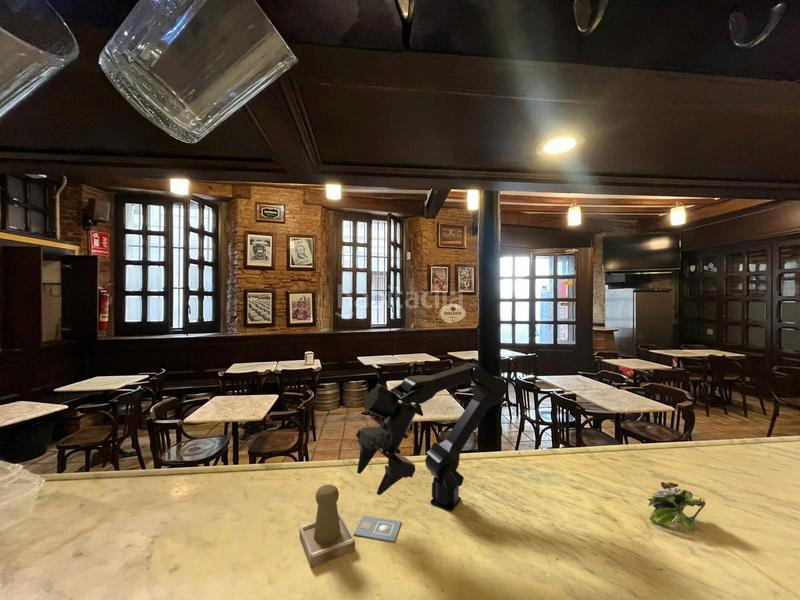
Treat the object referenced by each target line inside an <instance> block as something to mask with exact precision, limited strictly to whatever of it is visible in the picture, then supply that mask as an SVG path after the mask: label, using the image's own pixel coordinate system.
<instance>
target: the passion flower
mask: <svg viewBox="0 0 800 600" xmlns="http://www.w3.org/2000/svg"><path fill="white" fill-rule="evenodd" d="M660 487H661V488H663V489H664V490H662V489H660V491H659V490H656V492H653V493H652V496H651V498H650V497H646V500H647V501H649V502H648V505H647V506H648V507H650V506H652V507H653V508H654V509H653V511H652V512H651V514H650V516H649V521H650V520H651V521H652V522H653V524H661V525H662V526H671V525H673V524H675V523H677V522H679V521H681V523H682V524H683V525H684V527H686V528H687V529H688V533H689V532H690V533H691V532H692V533H695V532H696V531H695V529H694V526H693V524H694V522H695V520H696V517H697V516H698V515H699V513H700V512H701V510H702V509H704V507H706V506H705V505H706V502H705V499H704V498H701V497H698V498H693V496H694V495H693V493H692V492H691V491H688V490H687V489H685V488H684V489H680V488H678V489H677V488H676V487H679V484H678V483H674V482H672V481H668V482H664V481H662V482H660ZM672 488H673V489H674V490H673V489H672ZM687 506H689V507H695V506H697V507H699V508H698V510H697V511H696V512H695V513H694V515H692V516H691V517H689V516H687V515H686V514H685V513H684V512H683V511H684V509H685V508H686V507H687ZM651 521H650V522H651Z"/></svg>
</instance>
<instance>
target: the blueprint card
mask: <svg viewBox="0 0 800 600" xmlns="http://www.w3.org/2000/svg"><path fill="white" fill-rule="evenodd" d="M401 525H402V521H400V520H393V519H389V518H382V517H375V516H370V515H362V517H361V519H360V520H359V523H358V525H357V527H356V528H355V531H354V532H353V534H352V536H355V537H361V538H367V539H373V540H378V541H384V542H389V543H395V541H396V539H397V536H398V533H399V530H400V528H401Z"/></svg>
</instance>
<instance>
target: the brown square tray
mask: <svg viewBox="0 0 800 600" xmlns="http://www.w3.org/2000/svg"><path fill="white" fill-rule="evenodd" d="M338 517H339V524H340V532H341V535H340V537H339V539H338V540H337V541H336V542H334V543H332V544H328V545H321V544H318V543H316V541H315V540H314V532H315V524H316V521H314V522H311V523H307V524H304V525H302V526H299V540H300V543H301V545H302V548H303V551H304V554H305V557H306V560H307V561H308V565H309V568H313V567H316V566H318V565H321V564H324V563H327V562H329V561H332V560H335V559H338V558H340V557H342V556H345V555H347V554H350V553H354V552H355V551H356V541H355V538H354V535H353V534H352V532H351V530H350V529H349V527H348V526H347V523H346V522H345V519H344V518H343V517H342V515H341V513H338Z"/></svg>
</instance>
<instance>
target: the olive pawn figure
mask: <svg viewBox="0 0 800 600" xmlns="http://www.w3.org/2000/svg"><path fill="white" fill-rule="evenodd" d="M339 495H340V492H339V488H338V487H337V486H336V485H333V484H324V485H321V486H319V487H318V489H317V490H316V494H315V502H316V504H317V510H316V516H315V522H316V524H315V532H314V540H315V541H316V543H318V544H321V545H328V544H332V543H334V542H336V541H337V540H338V539H339V537H340V535H341V532H340V524H339V517H338V515H339V511H338V504H337V502H338V500H339Z"/></svg>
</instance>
